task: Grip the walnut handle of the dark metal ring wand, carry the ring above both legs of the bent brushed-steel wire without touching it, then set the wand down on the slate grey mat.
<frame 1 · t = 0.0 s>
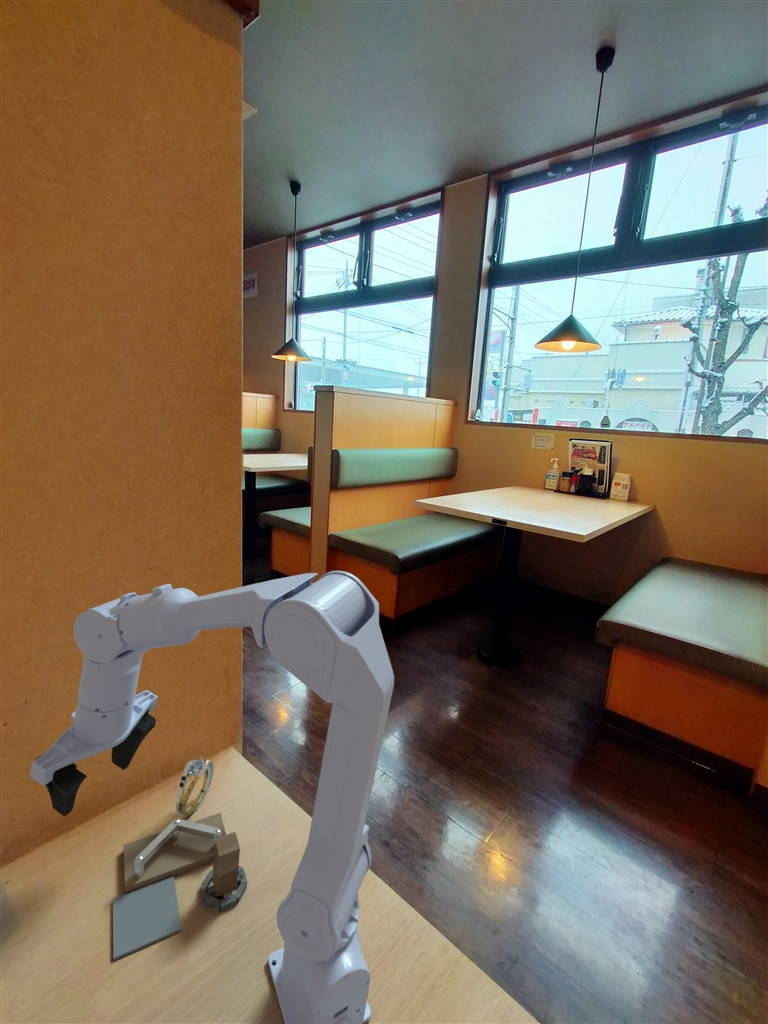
hand: (92, 785, 55), 11 cm above the table, tool pointing down, fingers open, 7 cm apart
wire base: (177, 852, 59), on the table
ring: (194, 810, 66), on the table
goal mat: (146, 915, 52), on the table
bent wire: (177, 852, 59), resting on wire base
ring wand: (224, 888, 56), on the table
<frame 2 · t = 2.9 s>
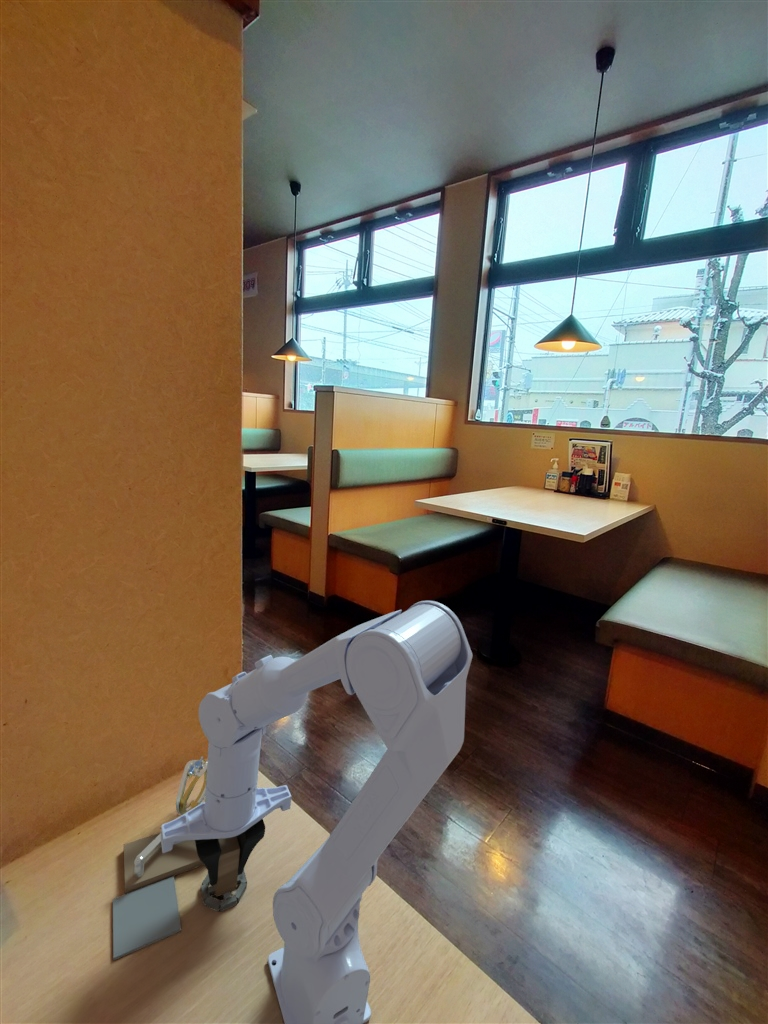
hand: (225, 872, 55), 2 cm above the table, tool pointing down, fingers closed on ring wand, 2 cm apart
ring wand: (224, 888, 56), on the table, touching gripper
everything else where it was.
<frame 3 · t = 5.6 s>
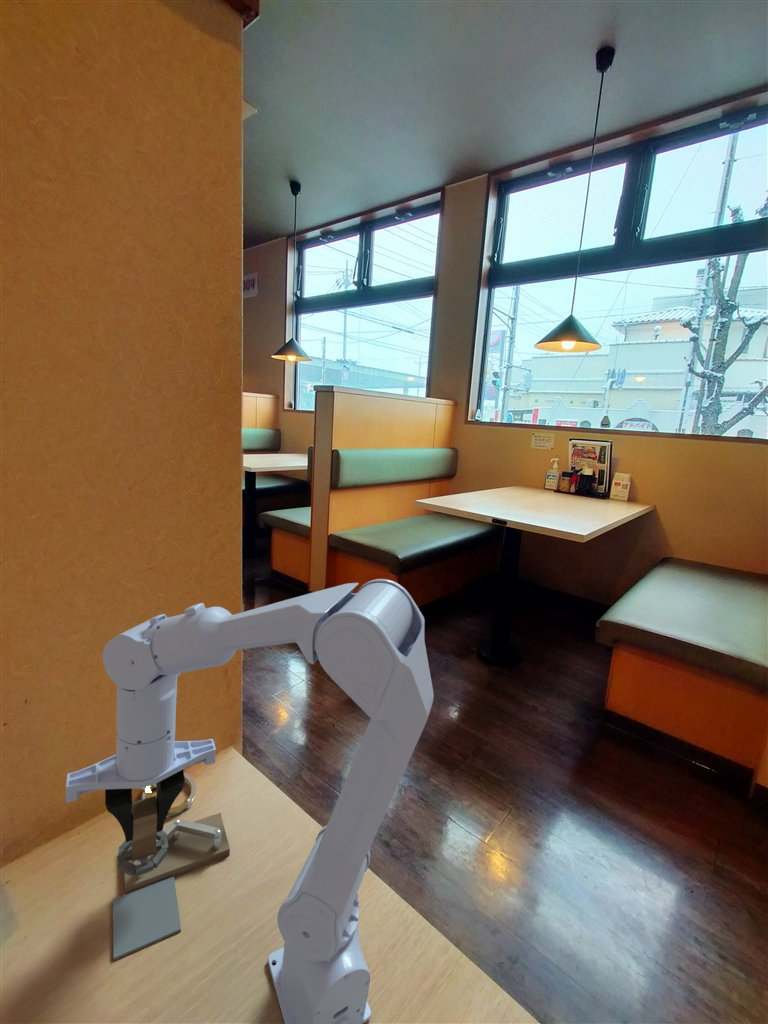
hand: (144, 829, 52), 9 cm above the table, tool pointing down, fingers closed on ring wand, 2 cm apart
ring wand: (143, 852, 53), point 6 cm above the table, touching gripper
when the fingers open (4 cm above the table, at t = 7.6 s): ring wand stays where it is, resting on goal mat.
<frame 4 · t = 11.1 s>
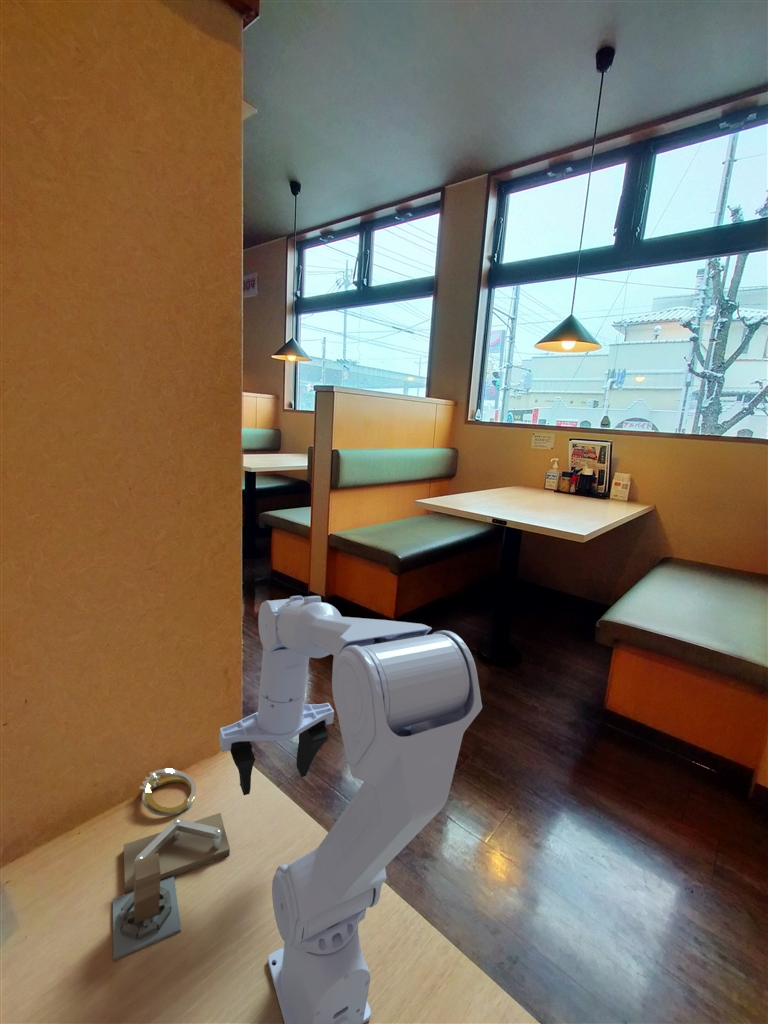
hand: (274, 779, 60), 10 cm above the table, tool pointing down, fingers open, 7 cm apart
ring wand: (145, 913, 52), resting on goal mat
at the end: ring wand 0.0 cm off-centre on the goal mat, point 0.3 cm above the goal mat's base; ring wand touching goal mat; the gripper is holding nothing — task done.
